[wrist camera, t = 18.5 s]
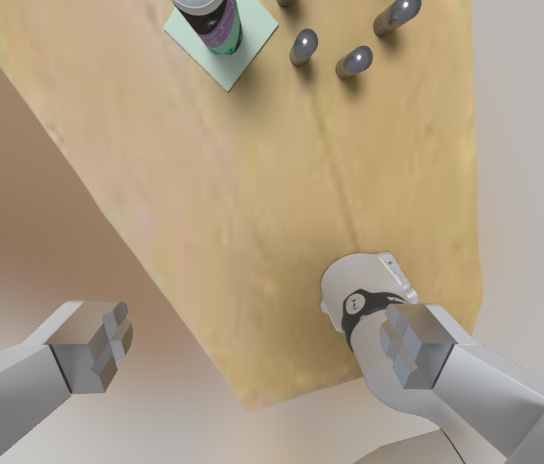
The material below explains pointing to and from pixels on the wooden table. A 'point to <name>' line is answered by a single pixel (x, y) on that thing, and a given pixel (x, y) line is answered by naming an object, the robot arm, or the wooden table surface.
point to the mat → (229, 69)
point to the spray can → (214, 23)
